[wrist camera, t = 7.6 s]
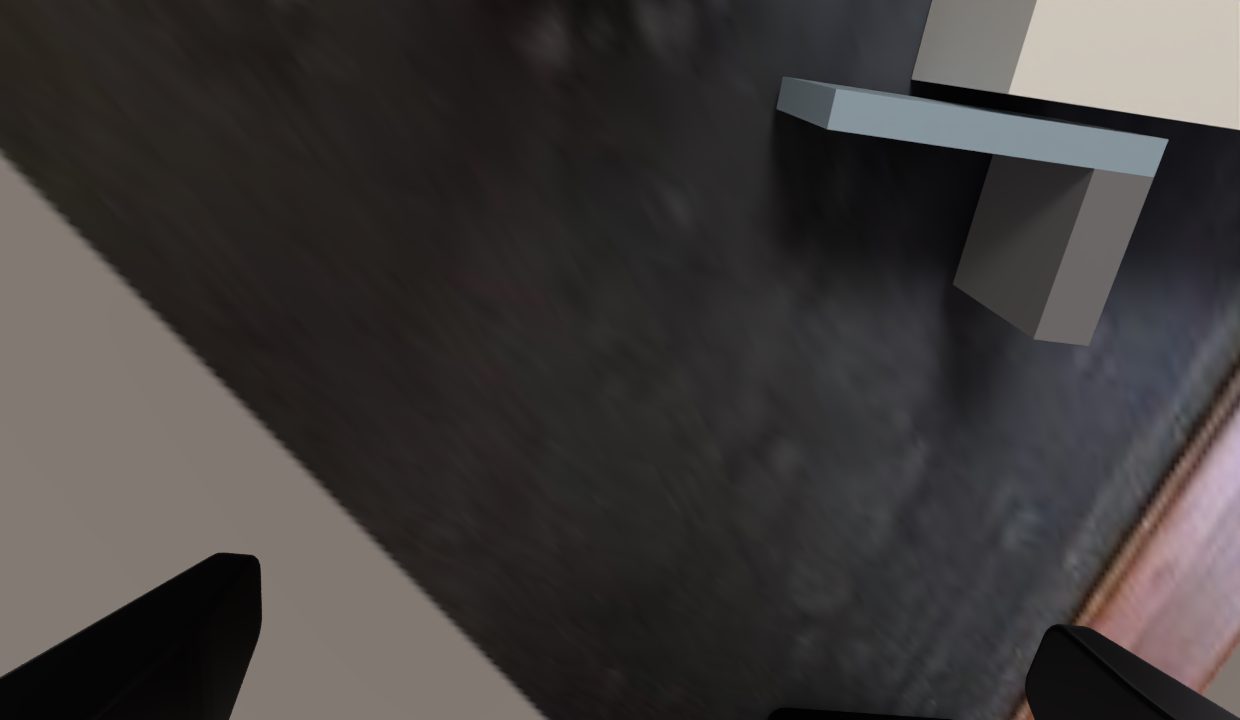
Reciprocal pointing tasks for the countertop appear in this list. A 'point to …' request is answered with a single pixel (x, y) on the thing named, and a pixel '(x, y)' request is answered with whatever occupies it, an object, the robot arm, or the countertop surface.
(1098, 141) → the grey l-shaped block
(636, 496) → the countertop surface
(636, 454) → the countertop surface
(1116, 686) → the robot arm
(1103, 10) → the camera housing
